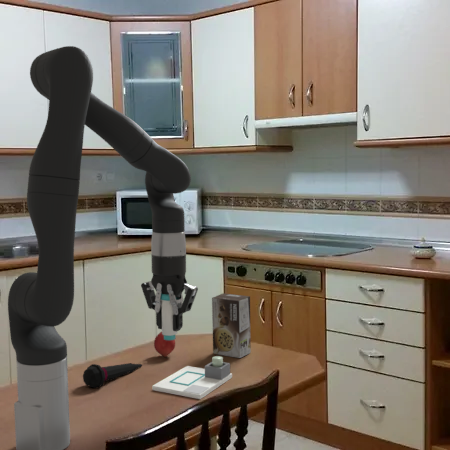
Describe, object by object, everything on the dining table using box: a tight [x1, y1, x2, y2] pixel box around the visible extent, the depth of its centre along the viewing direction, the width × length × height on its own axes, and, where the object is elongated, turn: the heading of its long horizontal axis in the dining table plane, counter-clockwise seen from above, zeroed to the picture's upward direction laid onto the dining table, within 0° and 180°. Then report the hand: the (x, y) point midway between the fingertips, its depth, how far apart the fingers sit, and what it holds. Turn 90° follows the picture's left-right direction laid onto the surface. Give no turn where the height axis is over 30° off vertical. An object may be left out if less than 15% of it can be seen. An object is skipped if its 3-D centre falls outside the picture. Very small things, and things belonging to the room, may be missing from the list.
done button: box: [211, 355, 224, 367], centre depth 158 cm, size 3×3×2 cm
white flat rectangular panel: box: [151, 365, 233, 400], centre depth 155 cm, size 16×13×1 cm
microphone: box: [82, 362, 143, 389], centre depth 160 cm, size 6×6×20 cm
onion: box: [153, 331, 176, 358], centre depth 176 cm, size 6×6×8 cm
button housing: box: [204, 361, 231, 380], centre depth 158 cm, size 5×5×3 cm
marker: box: [161, 294, 178, 341], centre depth 142 cm, size 4×4×10 cm
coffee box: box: [211, 292, 252, 359], centre depth 178 cm, size 9×6×16 cm
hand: (169, 329), depth 142 cm, fingers closed on marker, 3 cm apart
